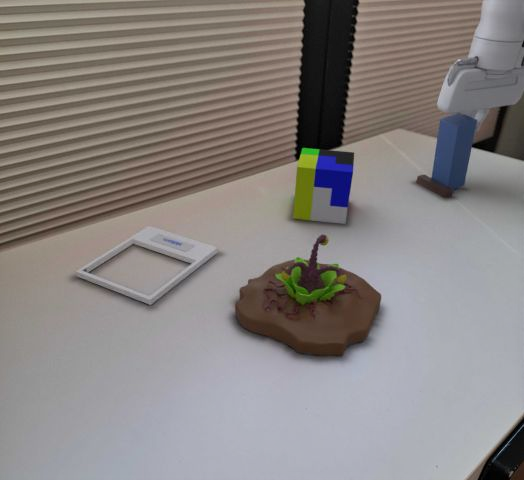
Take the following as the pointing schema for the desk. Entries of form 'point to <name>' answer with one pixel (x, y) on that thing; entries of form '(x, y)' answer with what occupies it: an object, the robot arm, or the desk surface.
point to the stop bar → (435, 186)
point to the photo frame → (159, 243)
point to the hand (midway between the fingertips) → (470, 130)
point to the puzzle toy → (323, 185)
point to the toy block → (453, 150)
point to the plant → (309, 305)
